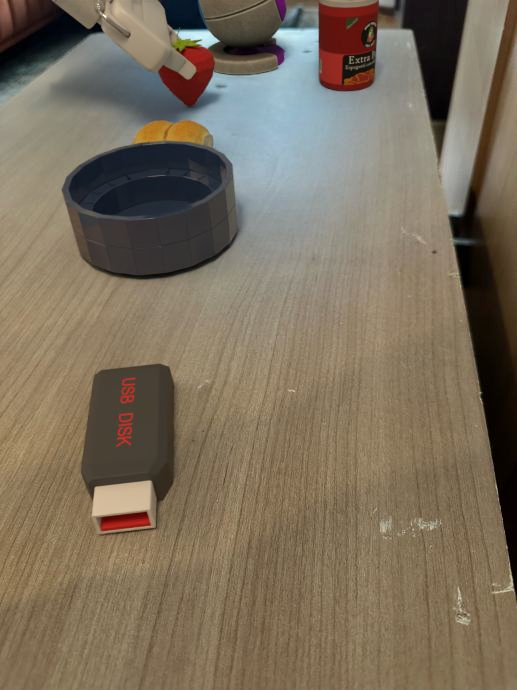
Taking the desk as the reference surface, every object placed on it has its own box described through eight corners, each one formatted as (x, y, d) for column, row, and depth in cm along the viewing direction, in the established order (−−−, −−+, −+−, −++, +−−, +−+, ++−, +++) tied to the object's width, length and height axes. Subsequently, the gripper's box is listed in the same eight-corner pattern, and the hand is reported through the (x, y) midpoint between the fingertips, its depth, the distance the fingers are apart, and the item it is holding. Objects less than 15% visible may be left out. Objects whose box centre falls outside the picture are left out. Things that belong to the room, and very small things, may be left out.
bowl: (93, 298, 54) (76, 236, 50) (68, 216, 65) (52, 160, 61) (261, 254, 58) (257, 193, 54) (210, 183, 69) (203, 129, 65)
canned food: (348, 96, 85) (351, 5, 78) (306, 82, 90) (305, -5, 83) (386, 80, 89) (392, -9, 82) (344, 68, 94) (346, -17, 87)
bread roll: (150, 140, 78) (144, 107, 76) (220, 144, 76) (216, 110, 74) (122, 171, 72) (115, 136, 70) (197, 175, 70) (193, 140, 68)
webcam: (289, 72, 94) (285, -47, 84) (202, 77, 94) (188, -40, 85) (287, 45, 104) (283, -64, 94) (208, 50, 104) (196, -58, 94)
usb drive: (173, 382, 46) (167, 354, 44) (173, 527, 37) (165, 499, 35) (100, 390, 46) (91, 362, 44) (82, 538, 37) (70, 510, 35)
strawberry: (223, 110, 84) (215, 28, 78) (166, 119, 83) (153, 36, 77) (214, 95, 89) (206, 16, 82) (160, 103, 88) (148, 23, 81)
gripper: (110, -18, 66) (214, 70, 73) (112, -53, 82) (198, 22, 89) (77, 34, 69) (181, 113, 76) (85, -10, 84) (171, 60, 91)
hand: (190, 64), depth 83 cm, fingers closed on strawberry, 6 cm apart
